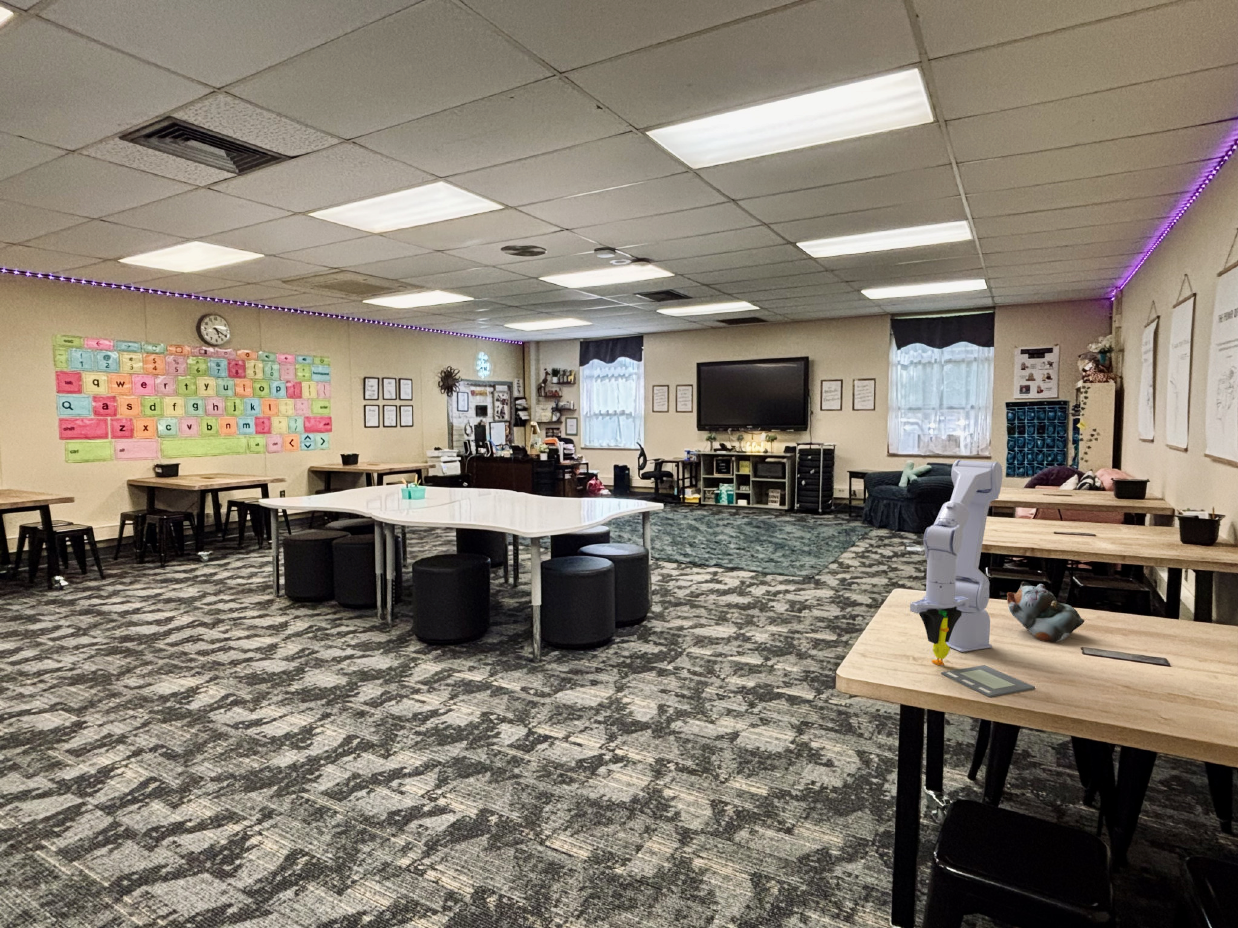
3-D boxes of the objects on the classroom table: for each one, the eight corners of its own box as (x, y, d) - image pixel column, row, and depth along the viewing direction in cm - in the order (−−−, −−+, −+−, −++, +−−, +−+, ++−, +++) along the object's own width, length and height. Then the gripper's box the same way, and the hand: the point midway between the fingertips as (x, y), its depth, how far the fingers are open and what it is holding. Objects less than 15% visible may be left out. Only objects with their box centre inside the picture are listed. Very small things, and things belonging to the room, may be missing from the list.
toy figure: (919, 658, 150) (921, 606, 149) (932, 656, 151) (934, 604, 150) (943, 669, 144) (945, 615, 143) (956, 667, 145) (958, 613, 144)
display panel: (984, 666, 145) (984, 664, 145) (1035, 688, 134) (1035, 686, 134) (941, 673, 141) (941, 671, 141) (989, 697, 130) (989, 694, 130)
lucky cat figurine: (1054, 646, 157) (1023, 591, 160) (1015, 649, 168) (986, 598, 171) (1096, 621, 162) (1065, 568, 165) (1055, 626, 173) (1026, 576, 176)
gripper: (952, 573, 152) (949, 631, 153) (900, 579, 147) (898, 639, 148) (978, 581, 145) (975, 642, 146) (925, 587, 140) (922, 649, 142)
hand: (938, 641), depth 147 cm, fingers closed on toy figure, 2 cm apart
